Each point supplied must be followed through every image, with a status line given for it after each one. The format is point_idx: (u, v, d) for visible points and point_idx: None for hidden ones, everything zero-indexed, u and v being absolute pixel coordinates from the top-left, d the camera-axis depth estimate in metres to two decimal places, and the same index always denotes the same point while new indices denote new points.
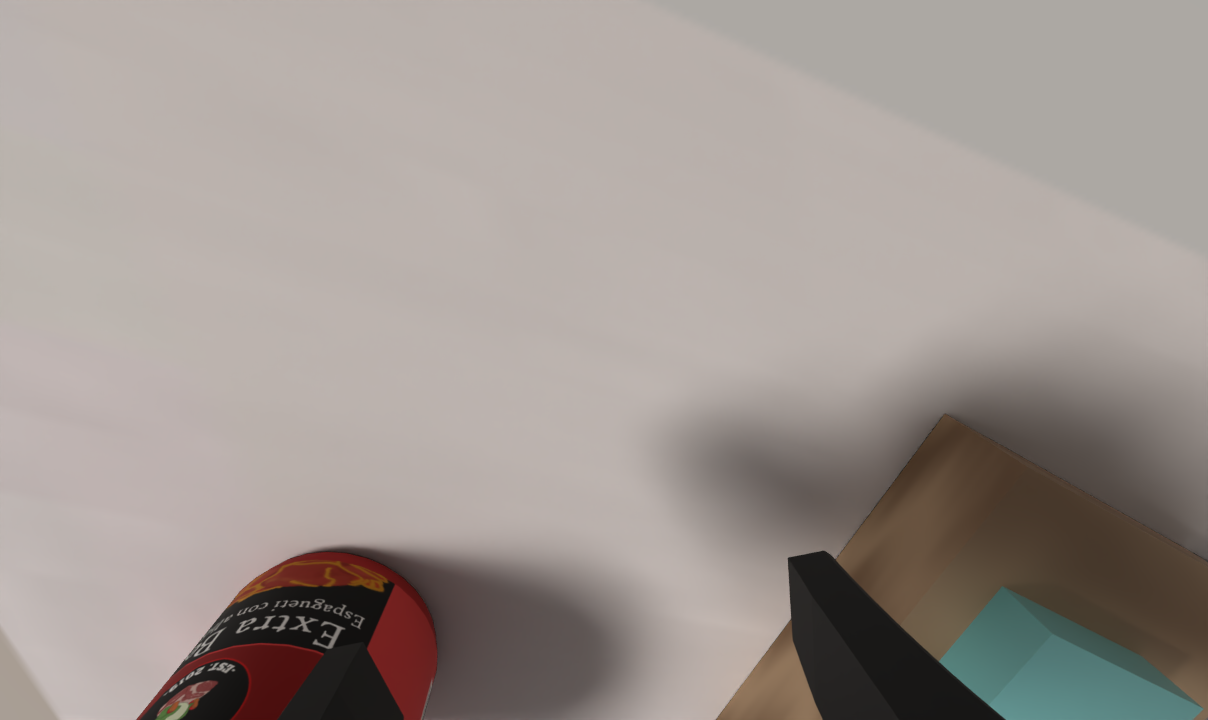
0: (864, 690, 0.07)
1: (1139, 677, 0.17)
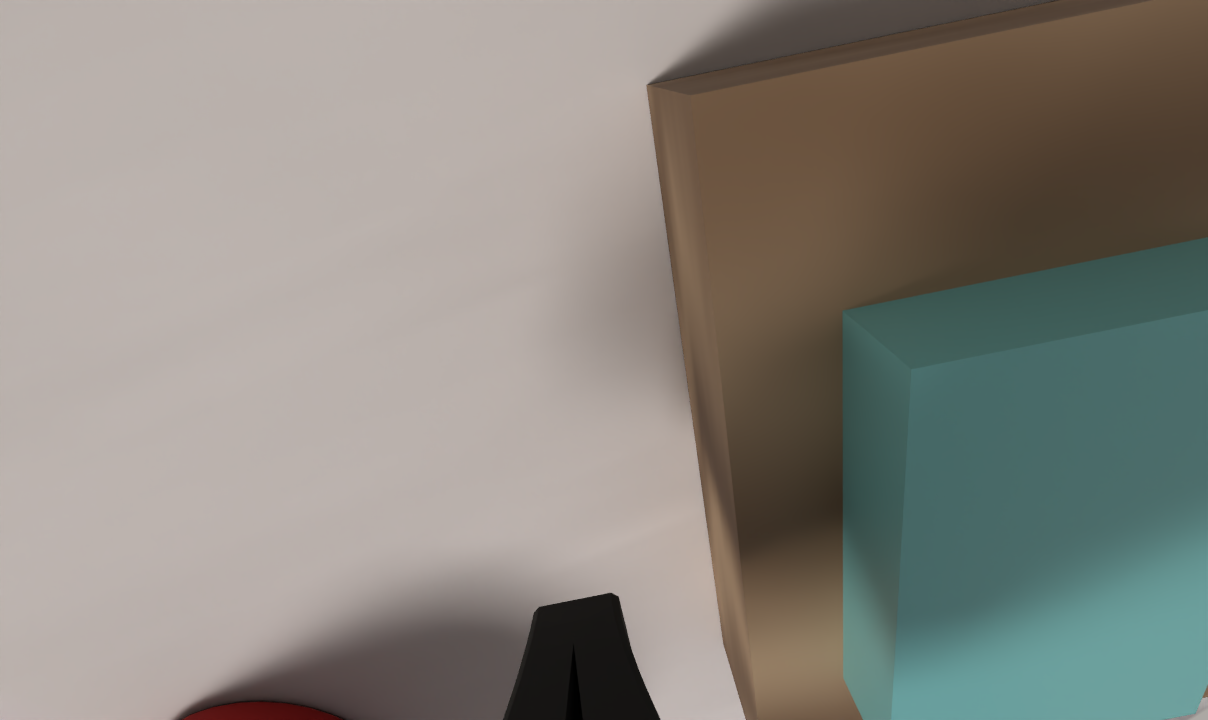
0: None
1: (1176, 317, 0.08)
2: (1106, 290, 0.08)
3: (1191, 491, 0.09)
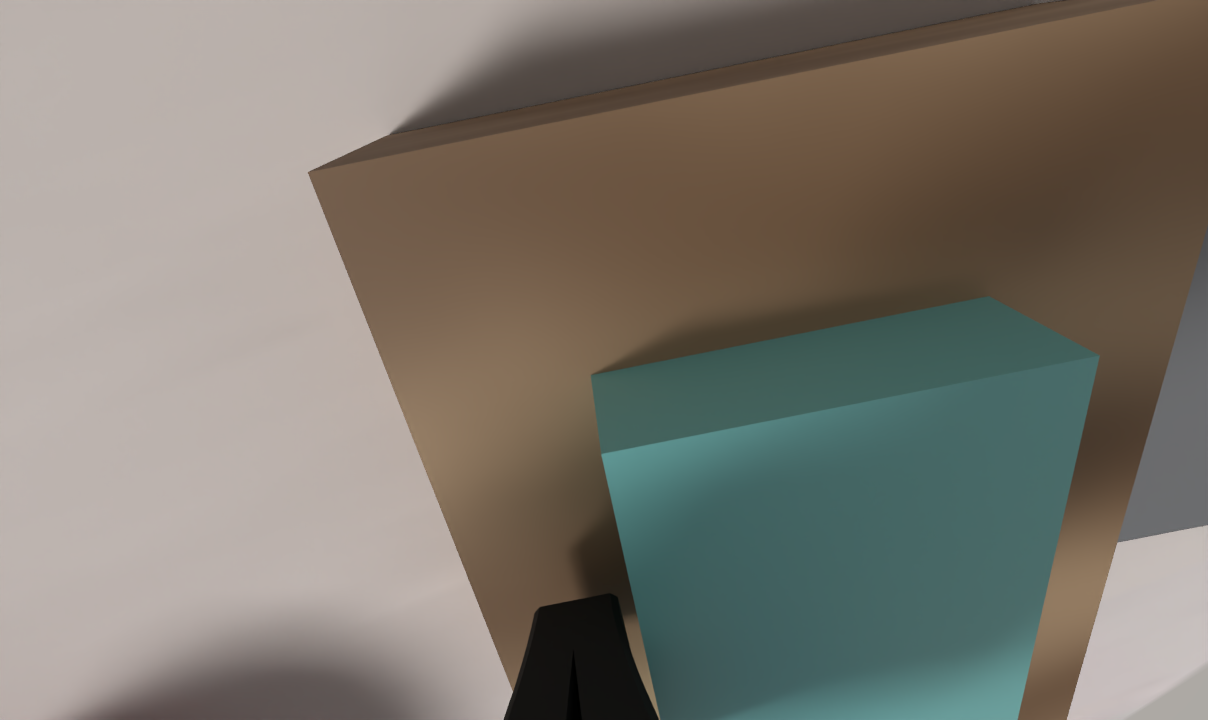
0: None
1: (880, 400, 0.07)
2: (839, 362, 0.08)
3: (942, 569, 0.08)
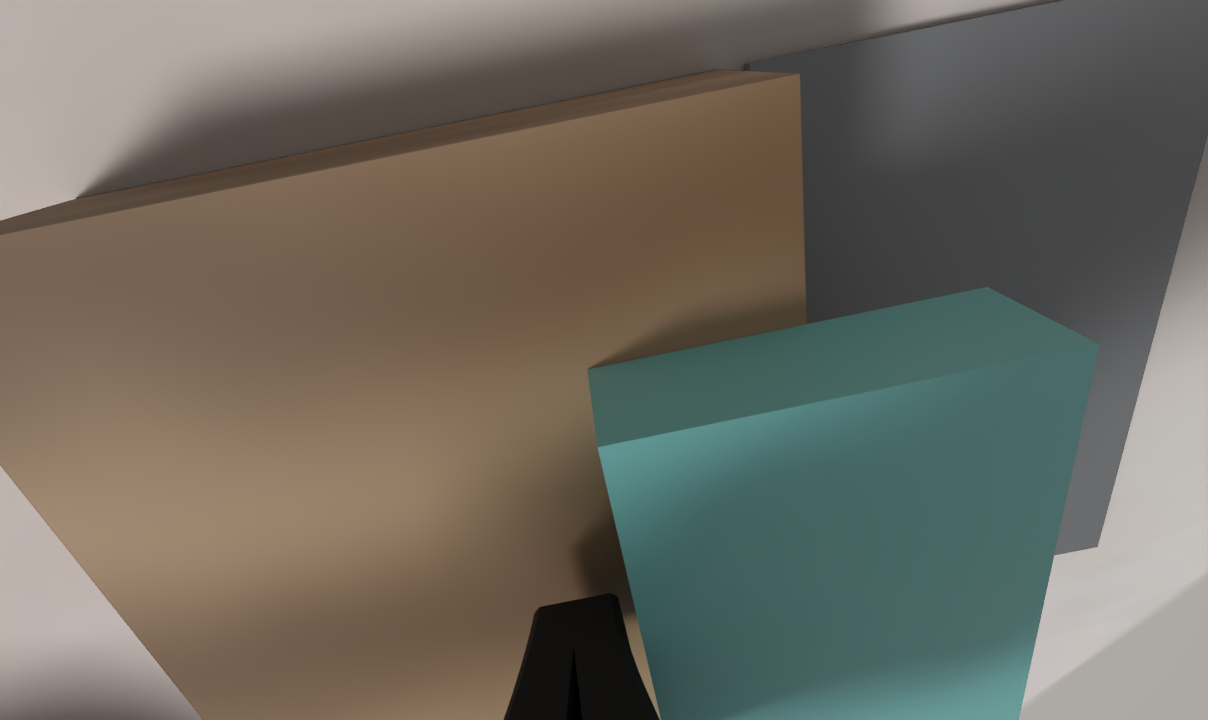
0: None
1: (878, 390, 0.07)
2: (837, 353, 0.08)
3: (943, 561, 0.08)
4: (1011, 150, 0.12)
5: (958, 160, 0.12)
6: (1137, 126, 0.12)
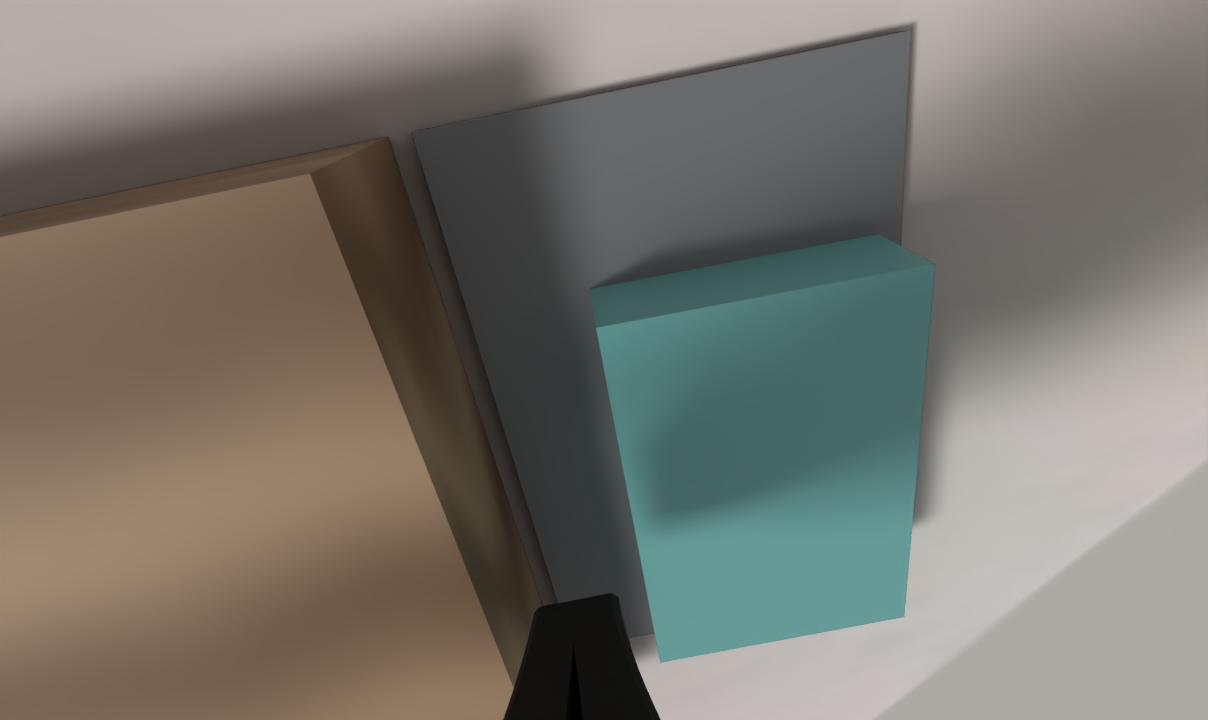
0: None
1: (716, 265, 0.12)
2: (731, 280, 0.11)
3: None
4: (703, 211, 0.12)
5: (651, 222, 0.12)
6: (828, 188, 0.12)
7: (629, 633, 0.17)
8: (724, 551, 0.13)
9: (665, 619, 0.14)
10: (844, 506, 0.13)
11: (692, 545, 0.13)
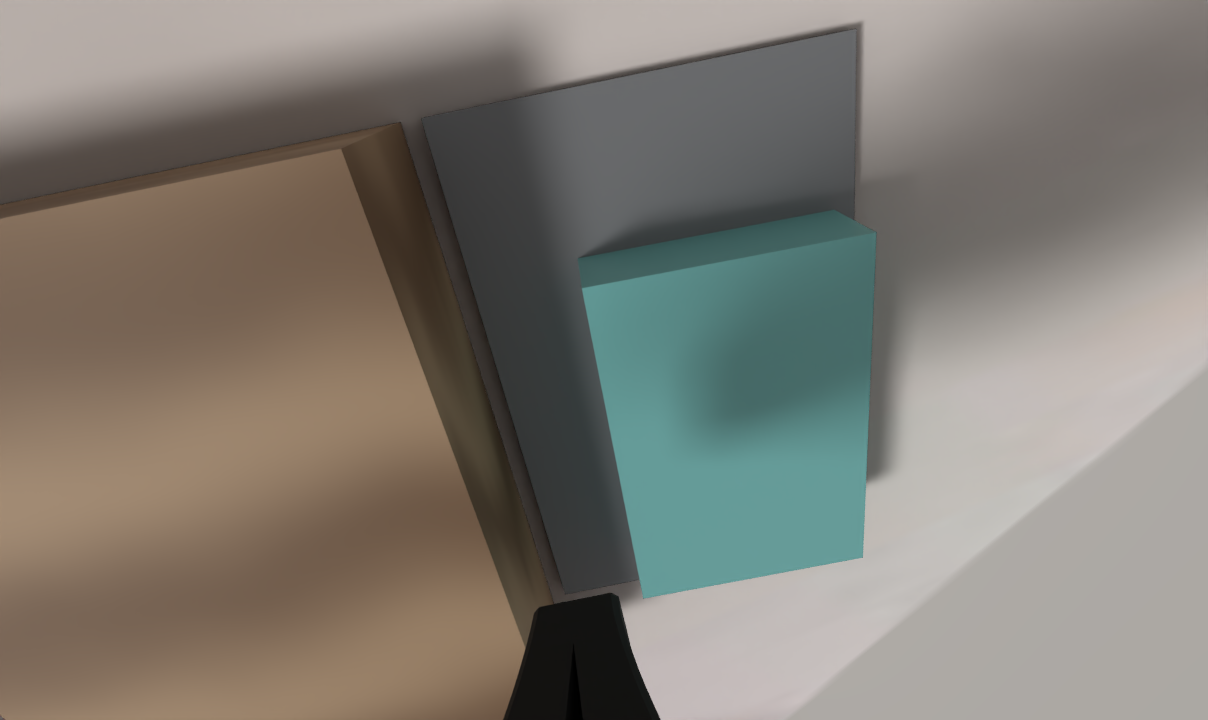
0: None
1: (690, 237, 0.14)
2: (702, 248, 0.13)
3: None
4: (677, 189, 0.13)
5: (631, 198, 0.13)
6: (788, 168, 0.13)
7: (617, 579, 0.18)
8: (698, 493, 0.15)
9: (647, 557, 0.15)
10: (804, 453, 0.14)
11: (670, 488, 0.14)
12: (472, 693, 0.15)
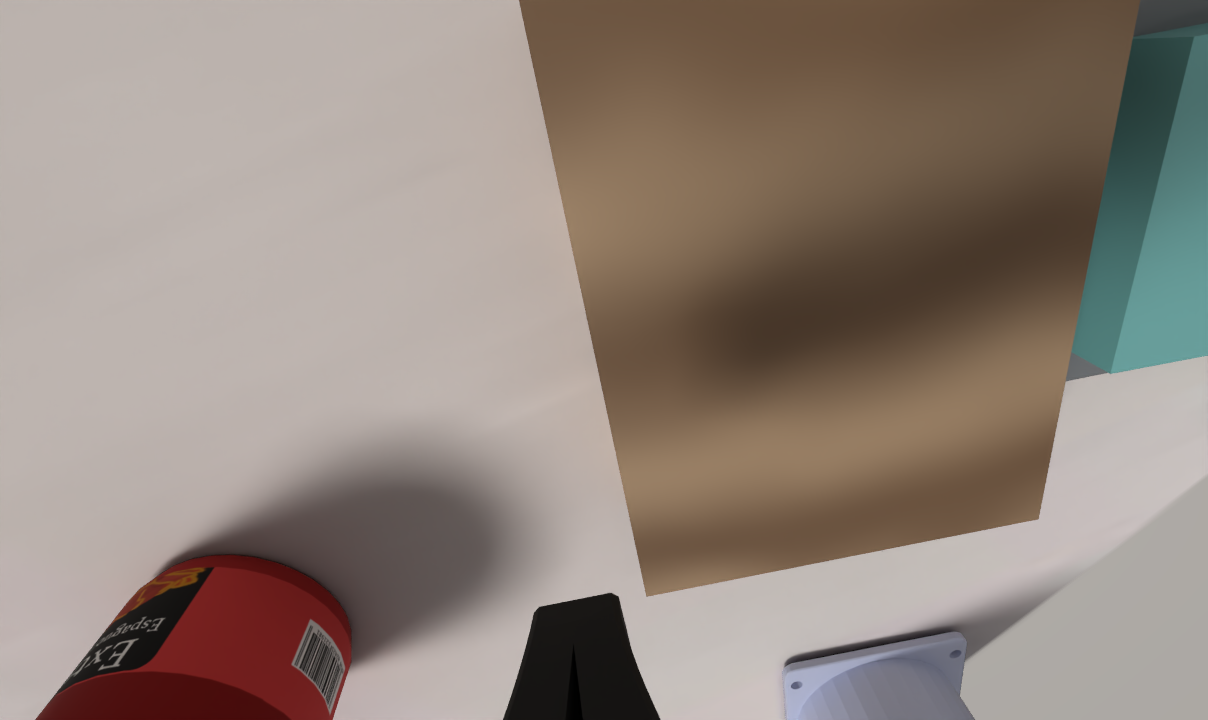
0: None
1: None
2: None
3: None
4: None
5: None
6: None
7: None
8: (1201, 259, 0.16)
9: (1131, 328, 0.17)
10: None
11: (1180, 253, 0.16)
12: (998, 438, 0.17)
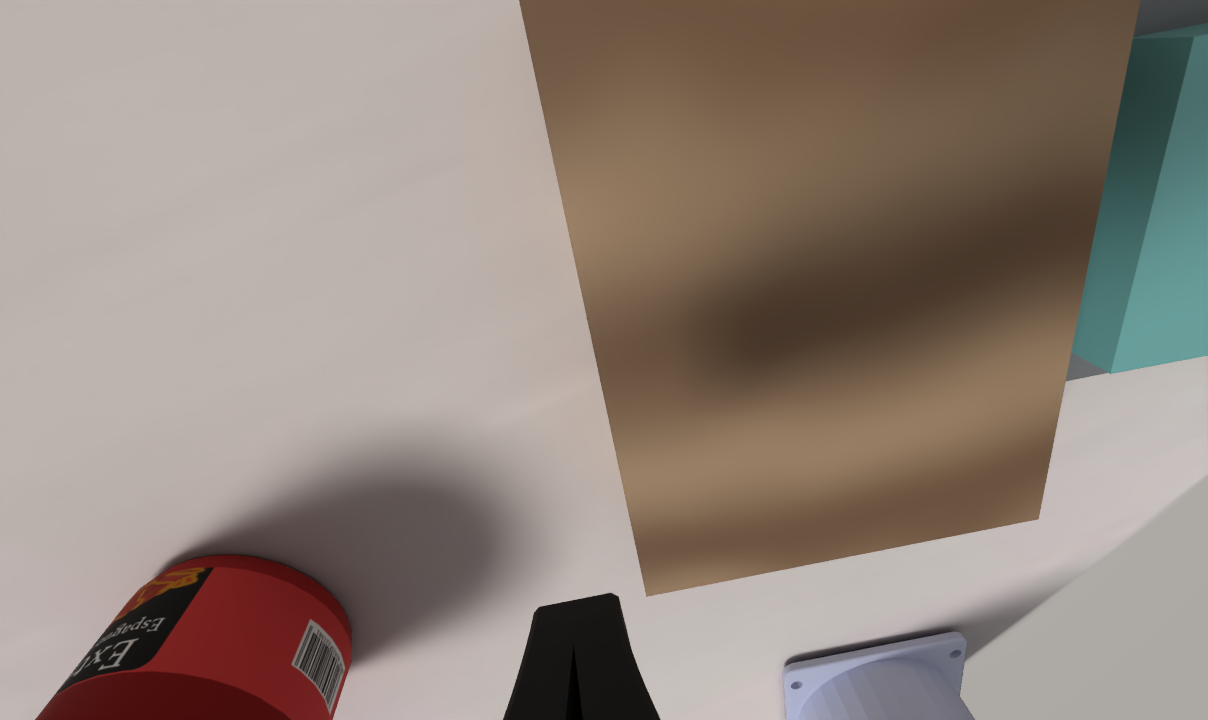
0: None
1: None
2: None
3: None
4: None
5: None
6: None
7: None
8: (1201, 259, 0.16)
9: (1131, 328, 0.17)
10: None
11: (1180, 253, 0.16)
12: (998, 438, 0.17)
